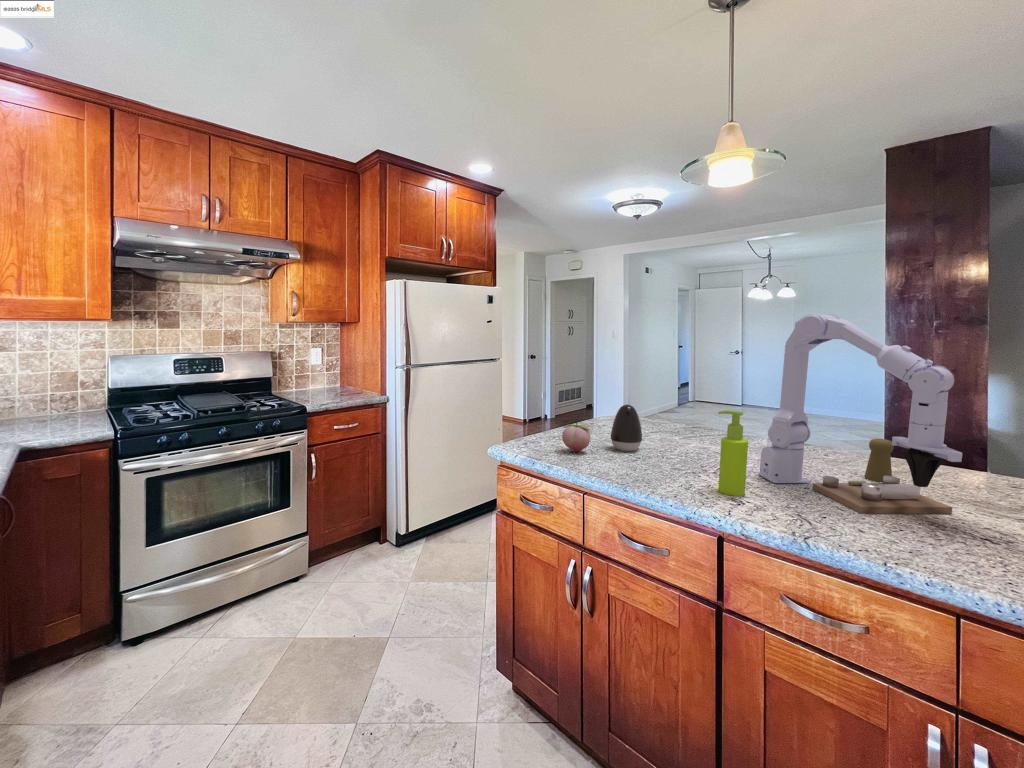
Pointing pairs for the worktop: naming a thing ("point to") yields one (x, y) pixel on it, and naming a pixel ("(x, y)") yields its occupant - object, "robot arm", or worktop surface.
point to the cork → (879, 460)
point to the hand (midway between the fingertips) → (920, 486)
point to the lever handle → (889, 491)
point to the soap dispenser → (733, 458)
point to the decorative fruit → (576, 437)
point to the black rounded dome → (626, 429)
